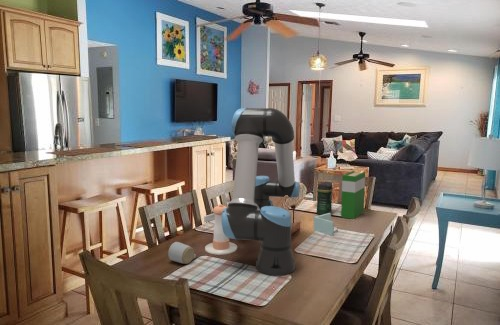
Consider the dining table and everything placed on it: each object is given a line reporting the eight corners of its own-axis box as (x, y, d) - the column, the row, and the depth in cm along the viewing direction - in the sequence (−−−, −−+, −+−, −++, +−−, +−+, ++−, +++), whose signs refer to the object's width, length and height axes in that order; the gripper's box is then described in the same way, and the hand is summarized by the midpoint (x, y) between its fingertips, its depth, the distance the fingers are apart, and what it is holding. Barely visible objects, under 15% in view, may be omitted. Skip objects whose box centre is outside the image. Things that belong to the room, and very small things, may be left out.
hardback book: (351, 210, 234) (353, 170, 230) (363, 212, 230) (365, 172, 226) (341, 217, 219) (342, 175, 216) (353, 219, 215) (355, 176, 212)
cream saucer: (243, 249, 170) (243, 247, 170) (218, 257, 161) (218, 255, 161) (223, 241, 180) (223, 239, 180) (198, 248, 171) (198, 246, 171)
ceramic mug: (183, 267, 151) (183, 248, 150) (167, 263, 155) (167, 244, 154) (200, 258, 160) (200, 240, 159) (185, 254, 164) (185, 237, 163)
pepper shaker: (224, 251, 166) (223, 207, 163) (209, 248, 169) (209, 205, 166) (232, 245, 172) (232, 203, 169) (218, 243, 175) (218, 201, 173)
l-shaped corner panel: (332, 237, 187) (332, 222, 186) (313, 231, 196) (313, 216, 195) (347, 232, 194) (348, 217, 193) (328, 226, 204) (329, 212, 202)
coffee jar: (328, 216, 220) (329, 184, 217) (315, 215, 223) (315, 183, 221) (333, 212, 228) (334, 181, 226) (320, 211, 232) (320, 180, 229)
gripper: (268, 225, 174) (236, 237, 159) (229, 215, 191) (196, 224, 175) (269, 208, 173) (236, 219, 158) (229, 200, 190) (195, 208, 174)
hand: (215, 222), depth 166 cm, fingers open, 13 cm apart
